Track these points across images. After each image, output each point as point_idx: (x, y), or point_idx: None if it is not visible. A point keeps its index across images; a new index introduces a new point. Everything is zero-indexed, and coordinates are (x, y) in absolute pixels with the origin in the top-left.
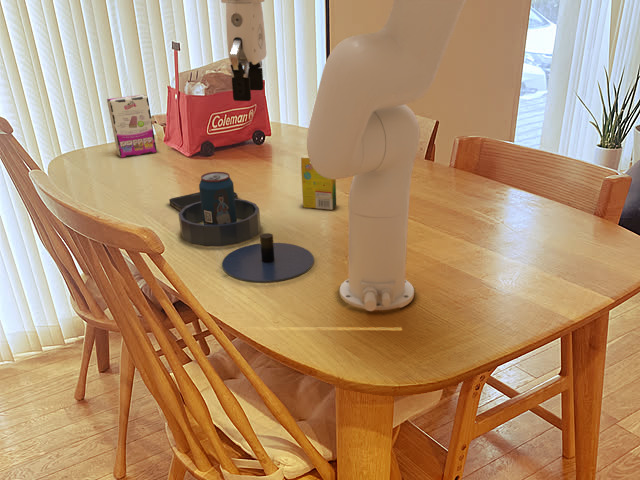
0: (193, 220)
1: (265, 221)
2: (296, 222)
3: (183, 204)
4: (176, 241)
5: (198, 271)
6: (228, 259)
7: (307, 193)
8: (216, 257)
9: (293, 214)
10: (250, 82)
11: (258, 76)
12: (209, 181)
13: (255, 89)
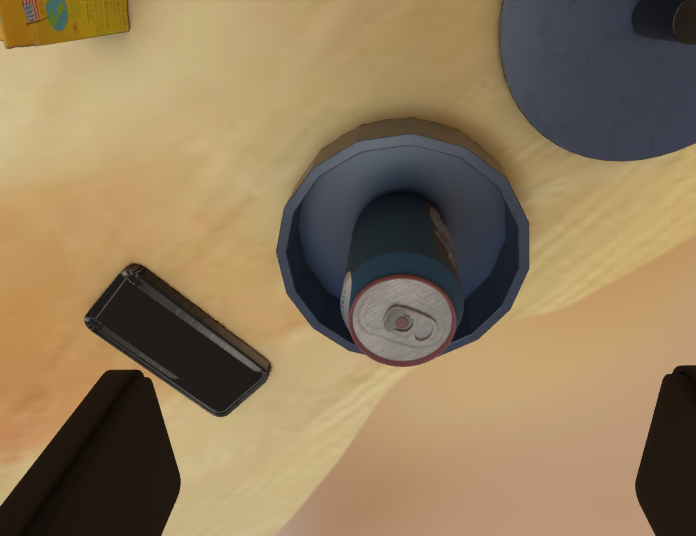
0: None
1: (285, 130)
2: (271, 18)
3: (243, 377)
4: None
5: (668, 209)
6: (635, 146)
7: (99, 12)
8: (574, 192)
9: (202, 50)
10: (149, 517)
11: (89, 508)
12: (454, 326)
13: (162, 426)
